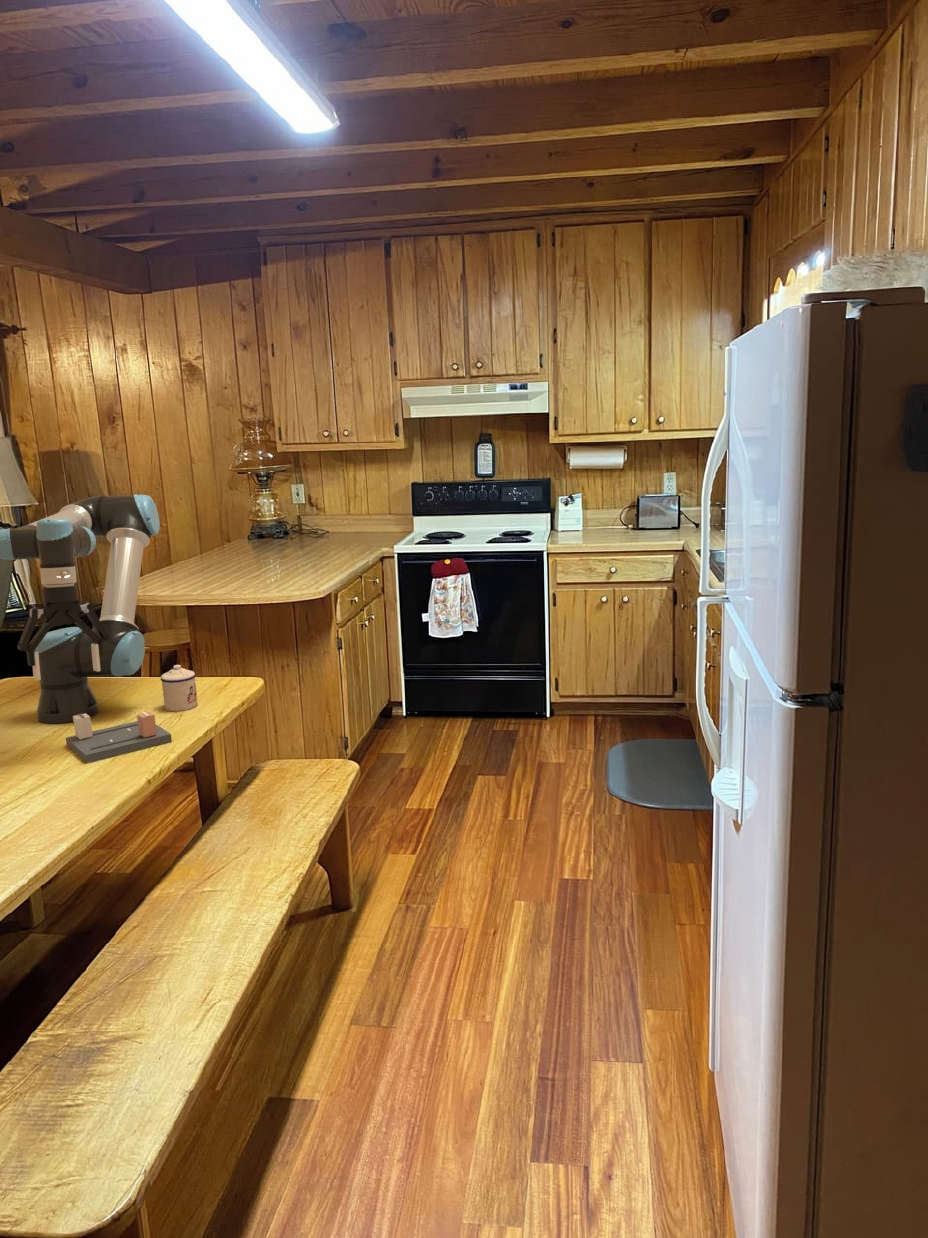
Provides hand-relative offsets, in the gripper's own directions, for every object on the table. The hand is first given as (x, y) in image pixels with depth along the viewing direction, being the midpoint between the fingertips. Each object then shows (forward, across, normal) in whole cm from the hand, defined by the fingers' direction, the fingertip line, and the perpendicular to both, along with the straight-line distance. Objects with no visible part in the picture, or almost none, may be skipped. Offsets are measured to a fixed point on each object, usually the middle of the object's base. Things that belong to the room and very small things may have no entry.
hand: (67, 675), depth 212 cm
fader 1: (+16, +3, +2) cm, 16 cm away
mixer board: (+18, +10, -3) cm, 21 cm away
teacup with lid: (+16, +34, +14) cm, 40 cm away
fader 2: (+16, +15, -8) cm, 23 cm away
